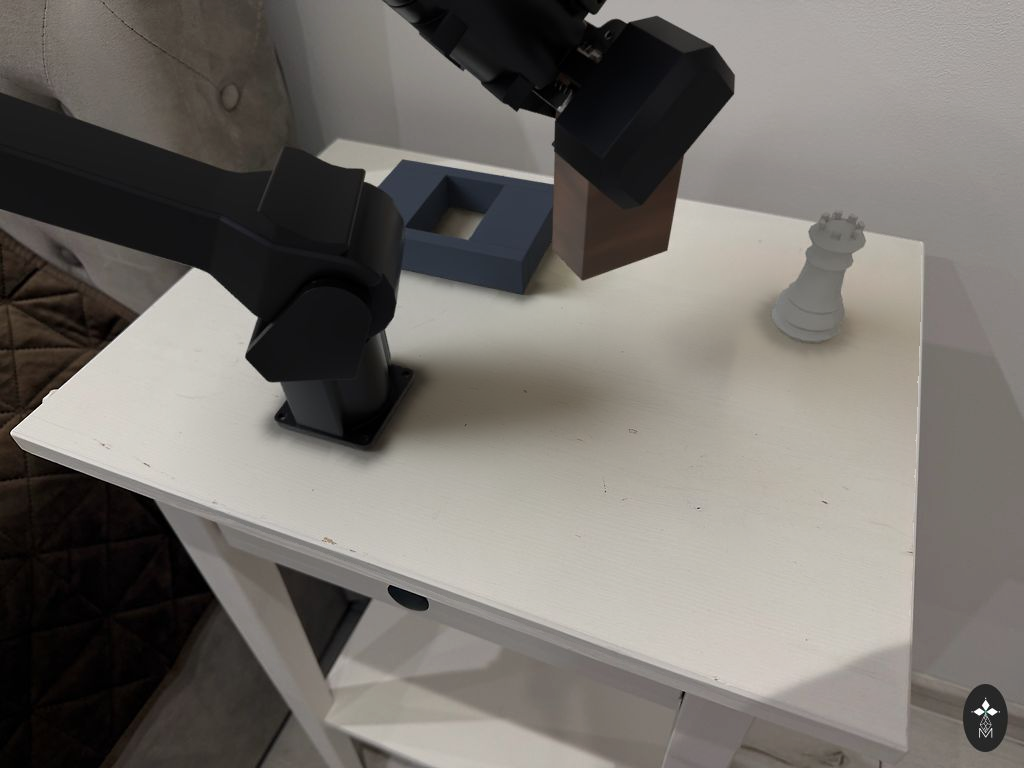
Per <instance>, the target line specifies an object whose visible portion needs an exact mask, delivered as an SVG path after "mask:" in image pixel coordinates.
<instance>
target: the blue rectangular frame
mask: <svg viewBox="0 0 1024 768" xmlns="http://www.w3.org/2000/svg"><path fill="white" fill-rule="evenodd" d="M377 187H378V188H380V189H381V190H383V191H384V192H386V193H387V194H388V195H389V196H390V197H391V198H392V199H393V200H394V204H395V206H396V207H397V209H398V211H399V212H400V214H401V216H402V218H403V220H404V225H405V231H406V237H405V244H404V252H403V259H402V267H401V270H405V271H409V272H413V273H419V274H422V275H423V274H424V275H428V276H433V277H438V278H442V279H447V280H452V281H456V282H462V283H467V284H471V285H475V286H479V287H484V288H485V287H486V288H490V289H495V290H500V291H505V292H509V293H514V294H519V295H524V293H525V291H526V290H527V288H528V286H529V284H530V282H531V281H532V278H533V276H534V275H535V273H536V271H537V269H538V267H539V265H540V263H541V262H542V260H543V258H544V257H545V254H546V252H547V250H548V248H549V247H550V245H551V244H552V234H553V196H554V183H548V182H542V181H536V180H531V179H524V178H518V177H512V176H505V175H502V174H501V175H499V174H493V173H489V172H488V173H487V172H483V171H476V170H471V169H470V170H469V169H466V168H465V169H464V168H458V167H453V166H452V167H451V166H446V165H441V164H440V165H439V164H434V163H427V162H423V161H415V160H409V159H405V158H404V159H403V158H401V160H400V161H399V162H398V164H397V165H395V167H394V168H393V169H392V170H391V171H390V172H389V174H387V176H386V177H385V178H384V179H383V180H382V181H381V183H379V184H378V186H377ZM449 208H454V209H460V210H465V211H471V212H476V213H480V214H481V213H482V214H484V216H483V217H482V219H481V221H480V222H479V223H478V224H477V226H476V228H475V229H474V231H473V232H472V233H471V235H470V237H469V238H468V239H466V238H460V237H455V236H450V235H445V234H441V233H435V232H433V230H434V229H435V227H436V226H437V224H438V223H439V222H440V221H441V219H442V218H443V217H444V215H445V214H446V213H447V211H448V210H449Z"/></svg>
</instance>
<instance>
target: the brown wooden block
mask: <svg viewBox="0 0 1024 768" xmlns="http://www.w3.org/2000/svg"><path fill="white" fill-rule="evenodd" d="M577 50H578V51H580V52H581V53H583V54H584V55H586V56H587V57H590V55H591V54H592V53H594V54H595V55H597V56H598V57H599V56H600V55H599V54H598V53H597V52H596V51H595V50H594V51H593V52H591V53H590V54H589V55H588V54H587V53H586V52H585V51H582V50H581V49H580V48H578V49H577ZM557 79H559V80H560V81H561V82H563V83H564V84H565V85H567V86H568V85H569V84H570V81H569V80H567V79H566V78H565V77H563V76H562V75H560V74H558V75H557ZM560 114H561V113H560V112H558V111H557V110H556V119H557V118H558V116H559V115H560ZM556 119H555V120H556ZM684 158H685V154H684V155H683V157H682V158H681V159H680V160H679V161H678V163H677V164H676V165H675V166H674V168H673V169H672V170H671V171H670V172H669V174H668V175H667V176H666V177H665V178H664V180H663V181H662V182H661V183H660V184H659V186H658V187H657V188H656V189H655V191H654V192H653V193H652V194H651V195H650V197H649V198H648V199H647V200H646V201H645V203H644V204H643V205H642V206H640V207H636V208H632V209H628V210H625V211H624V210H623V209H621V208H620V207H619V206H618V205H616V204H615V203H614V202H613V201H611V200H610V199H609V198H608V197H606V196H605V195H604V194H603V193H601V192H600V191H599V190H598V189H596V188H595V187H594V186H593V185H592V184H591V183H590V182H588V181H587V180H586V179H585V178H584V177H583V176H582V175H580V174H579V173H578V172H577V171H576V170H575V169H573V168H572V167H571V166H570V165H569V164H568V163H567V162H565V161H564V160H563V159H562V158H561V157H560V156H558V155H557V154H556V153H555V152H554V163H553V166H554V167H553V184H554V196H553V234H552V241H551V250H552V251H553V252H554V253H555V254H556V256H557V257H559V259H561V261H562V262H564V264H565V265H566V266H567V267H568V268H569V269H570V270H571V271H572V272H573V273H574V274H575V275H576V276H577V278H578V279H580V281H582V282H583V281H586V280H589V279H592V278H596V277H598V276H601V275H603V274H607V273H609V272H613V271H614V270H617V269H620V268H623V267H625V266H629V265H631V264H634V263H637V262H640V261H642V260H645V259H648V258H652V257H653V256H657V255H659V254H662V253H665V252H667V251H668V250H669V246H670V245H669V243H670V238H671V232H672V227H673V221H674V216H675V210H676V204H677V199H678V194H679V193H678V192H679V187H680V182H681V175H682V169H683V164H684V160H685V159H684Z"/></svg>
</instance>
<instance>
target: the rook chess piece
mask: <svg viewBox="0 0 1024 768" xmlns="http://www.w3.org/2000/svg"><path fill="white" fill-rule="evenodd" d="M843 213H844V212H843V210H834V211H833V213H832V215H831V213H829V212H828V211H826V212H824V213H822V214H821V215H820V218H819V219H818V222H816V223H814V224H812V225H810V227H809V229H808V230H807V233H808V237H809V240H810V241H811V245H810V246H808V247H806V250H805V252H804V254H805V258H806V259H805V262H804V265H803V267H802V268H801V271H800V272H799V274H798V276H797V278H796V279H795V280H794V281H793V282H791V283H789V285H788V287H786V288H784V289H783V290H782V291H781V292H780V293H779V295H778V297H777V299H776V301H775V304H774V306H773V307H772V310H771V317H772V321H773V323H774V325H775V326H776V327H777V329H778V330H779V332H780V333H782V334H783V335H785V336H786V337H787V338H789V339H791V340H794V341H798V342H800V343H805V344H807V343H808V344H816V343H821V342H825V341H828V340H830V339H832V338H834V336H836V335H838V334H839V333H840V331H841V328H842V322H843V320H844V318H845V316H846V310H845V309H846V308H845V306H844V297H843V294H842V288H843V284H844V278H845V274H846V272H847V269H849V268H851V267H852V266H853V263H854V257H853V254H854V253H856V252H858V251H859V250H861V249H863V248H864V247H865V245H866V243H867V240H866V237H865V233H864V229H865V228H866V226H865V222H864V221H858V219H859V216H858V215H855V214H854V213H850V214H849V215H848V218H844V217H843ZM857 221H858V222H857Z"/></svg>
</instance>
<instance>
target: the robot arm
mask: <svg viewBox="0 0 1024 768" xmlns="http://www.w3.org/2000/svg"><path fill="white" fill-rule="evenodd" d="M381 1H382V2H383V3H385V4H386V5H387V6H388V7H389V8H390V9H392V10H393V11H394V12H395V13H396V14H398V15H399V16H400V17H401V18H402V19H403V20H405V21H406V22H407V23H409V24H410V26H412V27H413V28H414V29H415V30H416V31H418V35H419V37H421V38H423V40H425V41H426V42H427V43H428V44H430V46H431V47H433V49H435V50H436V51H438V53H440V55H442V56H443V57H444V58H446V60H448V61H449V62H450V63H452V64H453V65H454V66H455V67H456V68H458V69H459V70H460V71H462V72H465V70H466V71H467V72H468V73H470V75H472V76H473V77H474V78H475V79H476V80H478V81H479V82H480V84H481V86H482V87H483V88H484V89H485V90H487V91H488V92H489V93H490V94H491V95H493V96H494V98H496V99H497V100H498V101H499V102H500V103H502V104H504V105H507V106H509V107H510V108H511V109H512V110H513V111H514V112H516V113H518V111H519V110H524V111H528V112H530V113H534V114H539V115H542V116H545V117H549V118H551V119H555V120H554V136H553V138H554V139H553V141H552V142H551V147H552V148H553V152H554V154H555V153H556V154H557V155H558V156H560V157H561V158H562V159H563V160H564V161H565V162H567V163H568V164H569V165H570V166H571V167H572V168H573V169H575V170H576V171H577V172H578V173H579V174H580V175H582V176H583V177H584V178H585V179H586V180H587V181H588V182H590V183H591V184H592V185H593V186H594V187H595V188H596V189H598V190H599V191H600V192H601V193H603V194H604V195H605V196H606V197H608V198H609V199H610V200H611V201H613V202H614V203H615V204H616V205H618V206H619V207H620V208H621V209H623V210H624V211H625V210H628V209H632V208H636V207H640V206H642V205H643V204H644V203H645V201H646V200H647V199H648V198H649V197H650V195H651V194H652V193H653V192H654V191H655V189H656V188H657V187H658V186H659V184H660V183H661V182H662V181H663V180H664V178H665V177H666V176H667V175H668V174H669V172H670V171H671V170H672V169H673V168H674V166H675V165H676V164H677V163H678V161H679V160H680V159H681V158H682V157H683V155H684V156H685V154H686V153H687V152H688V150H689V149H690V148H691V147H693V145H694V144H695V142H696V141H697V140H698V138H700V136H701V135H702V134H703V133H704V131H705V130H706V129H707V128H708V126H709V125H710V124H711V123H712V122H713V120H714V119H715V118H716V117H717V116H718V114H719V113H720V112H721V111H722V110H723V108H724V107H725V106H726V105H727V104H728V103H729V102H730V100H731V99H732V97H734V95H735V84H736V74H735V73H734V72H733V70H732V69H731V67H730V66H729V65H728V63H727V62H726V60H725V59H724V57H723V56H722V55H721V53H720V52H719V51H718V50H717V48H716V47H715V45H714V44H711V43H710V42H708V41H707V40H705V39H702V38H700V37H698V36H696V35H695V34H693V33H692V32H688V31H687V30H685V29H684V28H682V27H679V26H677V25H676V24H674V23H673V22H670V21H668V20H666V19H664V18H663V17H660V16H659V15H654V16H649V17H645V18H641V19H635V20H632V21H627V22H626V21H624V20H622V19H620V18H612V19H609V20H607V21H606V22H605V23H604V24H602V25H601V26H596V25H594V24H593V23H591V22H589V21H587V20H586V17H587V16H588V15H589V14H590V15H592V16H595V15H597V14H598V13H599V12H600V10H601V8H603V6H604V5H605V3H606V2H607V1H608V0H381ZM578 48H580V49H581V50H582V51H585V52H586V53H587V54H588V55H589V54H590V53H591V52H593V51H594V50H595V51H596V52H597V53H598V54H599V55H600V56H599V57H598V56H597V55H595V54H594V53H592V54H591V55H590V57H587V56H586V55H584V54H583V53H581V52H580V51H578V50H577V49H578ZM558 74H560V75H562V76H563V77H565V78H566V79H567V80H569V81H570V84H569V85H568V86H567V85H565V84H564V83H563V82H561V81H560V80H559V79H557V75H558ZM556 110H557V111H558V112H560V113H561V114H560V115H559V116H558V118H557V119H556ZM366 175H367V171H366V170H365V169H364V168H359V167H358V168H357V167H355V168H354V167H343V166H339V165H335V164H332V163H329V162H327V161H325V160H323V159H321V158H319V157H317V156H315V155H314V154H312V153H310V152H308V151H306V150H304V149H302V148H297V147H293V146H289V145H284V146H282V147H281V149H280V152H279V154H278V157H277V159H276V162H275V165H274V167H273V169H272V170H259V171H256V170H255V171H243V172H242V171H241V172H237V171H232V170H227V169H225V168H224V169H223V168H222V167H218V166H215V165H212V164H209V163H207V162H203V161H200V160H198V159H195V158H192V157H189V156H186V155H183V154H180V153H177V152H175V151H172V150H169V149H166V148H163V147H160V146H157V145H154V144H151V143H148V142H146V141H144V140H140V139H138V138H135V137H131V136H129V135H125V134H122V133H120V132H117V131H115V130H111V129H108V128H105V127H103V126H99V125H96V124H94V123H90V122H88V121H85V120H82V119H79V118H77V117H74V116H71V115H69V114H68V115H67V114H65V113H62V112H58V111H56V110H53V109H50V108H47V107H44V106H42V105H38V104H36V103H33V102H29V101H27V100H25V99H21V98H18V97H17V96H12V95H10V94H8V93H7V94H6V93H4V92H1V91H0V211H3V212H6V213H10V214H13V215H17V216H19V217H23V218H26V219H29V220H32V221H33V220H34V221H36V222H40V223H44V224H46V225H50V226H54V227H56V228H59V229H62V230H67V231H71V232H73V233H77V234H80V235H83V236H87V237H91V238H94V239H97V240H100V241H103V242H107V243H111V244H113V245H116V246H121V247H124V248H127V249H131V250H134V251H137V252H141V253H143V254H147V255H151V256H154V257H156V258H161V259H163V260H167V261H170V262H174V263H177V264H181V265H184V266H188V267H190V268H194V269H197V270H200V271H201V272H204V273H206V274H208V275H210V276H211V277H212V278H213V279H214V280H215V281H217V283H218V284H220V285H221V287H223V288H224V289H225V290H226V291H227V292H229V293H230V294H231V296H233V298H235V299H236V300H237V301H238V302H239V303H240V304H242V305H243V307H245V308H246V309H247V310H248V311H249V312H250V313H251V314H252V315H254V316H255V317H256V318H257V319H256V321H255V325H254V327H253V331H252V333H251V336H250V340H249V342H248V346H247V347H246V352H245V355H244V358H245V360H246V361H247V362H248V363H249V364H250V365H251V366H252V367H253V369H255V370H256V372H258V374H259V375H261V377H262V378H263V379H264V380H265V381H267V383H280V386H281V388H282V391H283V393H284V396H285V398H286V400H284V402H283V404H282V405H281V406H280V407H279V409H278V410H277V411H276V413H275V414H274V421H275V424H276V425H277V426H278V427H280V428H284V429H288V430H291V431H294V432H298V433H301V434H304V435H308V436H312V437H315V438H318V439H322V440H326V441H328V442H333V443H336V444H339V445H343V446H347V447H350V448H353V449H357V450H360V451H368V450H370V449H371V448H372V447H373V446H374V445H375V443H376V442H377V440H378V438H379V436H380V435H381V433H382V432H383V431H384V428H385V427H386V425H387V424H388V422H389V421H390V419H391V417H392V416H393V414H394V413H395V411H396V409H397V407H398V406H399V404H400V403H401V401H402V400H403V398H404V396H406V393H407V392H408V390H409V389H410V387H411V385H412V384H413V382H414V380H415V375H414V371H413V370H412V369H411V368H408V367H404V366H400V365H396V364H392V362H391V360H392V355H391V350H390V346H389V341H388V338H387V332H386V329H387V328H388V326H389V325H390V324H391V322H392V321H393V319H394V318H395V314H396V309H397V304H398V296H399V289H400V281H401V275H402V269H401V267H402V259H403V252H404V244H405V237H406V231H405V225H404V220H403V218H402V216H401V214H400V212H399V211H398V209H397V207H396V206H395V204H394V200H393V199H392V198H391V197H390V196H389V195H388V194H387V193H386V192H384V191H383V190H381V189H380V188H378V186H375V185H374V184H372V183H370V182H368V181H365V178H366Z"/></svg>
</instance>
